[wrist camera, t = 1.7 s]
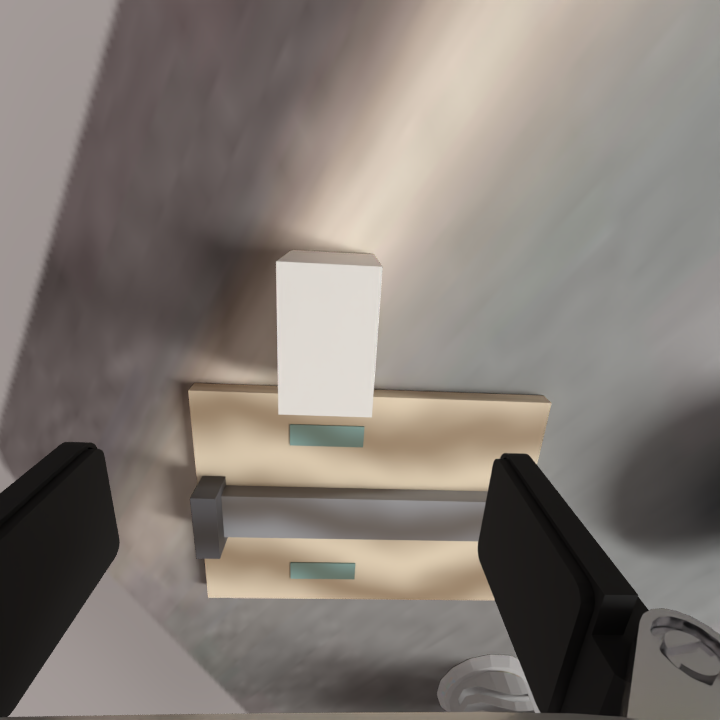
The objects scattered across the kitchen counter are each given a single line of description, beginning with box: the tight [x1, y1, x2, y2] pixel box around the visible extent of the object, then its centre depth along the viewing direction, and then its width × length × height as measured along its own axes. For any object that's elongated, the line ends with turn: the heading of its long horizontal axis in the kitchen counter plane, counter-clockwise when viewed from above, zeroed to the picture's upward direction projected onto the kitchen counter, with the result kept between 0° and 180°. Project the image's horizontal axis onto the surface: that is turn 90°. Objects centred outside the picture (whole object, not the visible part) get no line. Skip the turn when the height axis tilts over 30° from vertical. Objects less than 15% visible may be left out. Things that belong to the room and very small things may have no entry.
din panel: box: [188, 383, 551, 600], centre depth 29 cm, size 18×24×4 cm
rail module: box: [276, 250, 383, 417], centre depth 23 cm, size 9×5×6 cm, turn 177°
